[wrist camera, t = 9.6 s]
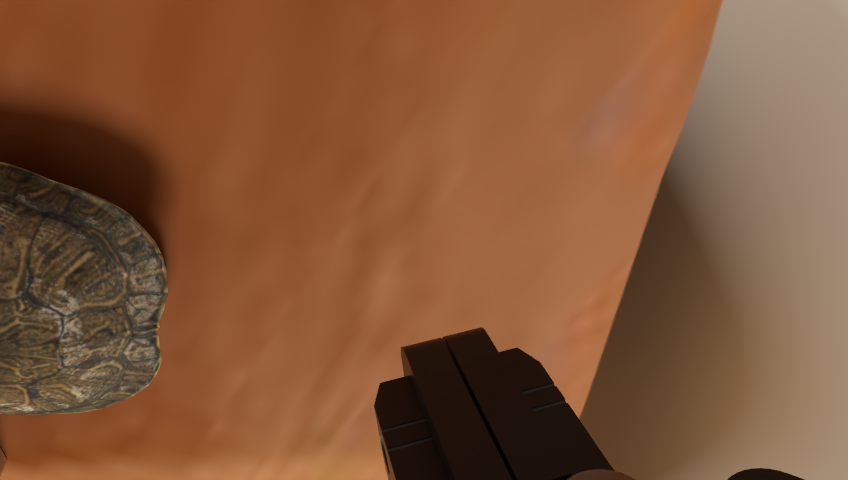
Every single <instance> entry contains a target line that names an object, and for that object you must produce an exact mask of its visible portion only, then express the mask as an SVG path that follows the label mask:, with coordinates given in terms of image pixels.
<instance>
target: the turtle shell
mask: <svg viewBox="0 0 848 480" xmlns="http://www.w3.org/2000/svg"><path fill="white" fill-rule="evenodd" d="M167 295H168V286H167V272H166V266H165V262H164V259H163V257H162V254H161V252H160V250H159V248H158V246H157V244H156V242H155V241H154V240H153V239H152V237H151V236H150V235H149V234H148V233H147V231H146V230H145V229H144V228H143V227H142V226H141V225H140V224H139V223H138V222H137V221H136V220H135V219H134V218H133V217H132V216H131V215H130V214H128V213H127V212H126V211H124V210H123V209H121V208H120V207H118V206H116V205H114V204H112V203H110V202H108V201H106V200H104V199H102V198H100V197H98V196H96V195H93V194H91V193H88V192H86V191H83V190H80V189H78V188H75V187H72V186H69V185H65V184H62V183H59V182H56V181H53V180H50V179H48V178H46V177H44V176H42V175H39V174H37V173H34V172H32V171H29V170H26V169H23V168H21V167H18V166H15V165H11V164H8V163H4V162H0V414H33V415H47V414H65V413H82V412H87V411H92V410H97V409H102V408H106V407H108V406H111V405H113V404H114V403H116V402H118V401H122V400H125V399H129V398H130V397H132V396H133V395H135V394H137V393H138V392H140V391H142V390H143V389H145V388H146V387H147V386H148V385H149V384H150V383H151V382H152V380H153V379H154V377H155V376H156V374H157V372H158V370H159V368H160V365H161V362H162V361H161V355H162V353H161V349H160V346H159V336H158V334H157V333H156V331H157V330H158V329H159V327H160V318H161V315H162V312H163V310H164V308H165V302H166V298H167Z"/></svg>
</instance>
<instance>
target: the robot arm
mask: <svg viewBox="0 0 848 480" xmlns="http://www.w3.org/2000/svg"><path fill="white" fill-rule="evenodd" d="M401 357H402V364H403V370H404V377H402V378H398V379H394V380H390V381H386V382H382V383H380V385H379V389H378V393H377V397H376V401H375V405H374V408H375V413H376V419H377V424H378V430H379V435H380V441H381V446H382V451H383V457H384V462H385V468H386V472H387V475H388V479H389V480H635V479H634V478H632V477H630V476H628V475H625V474H623V473H620V472H616V471H615V470H614V469H613V468H612V467H611V465H610V464H609V463H608V461H607V460H606V458H605V457H604V455H603V454H602V452H601V451H600V450H599V448H598V446H597V445H596V444H595V442H594V441H593V439H592V438H591V436H590V435H589V433H588V432H587V430H586V429H585V427H584V426H583V425H582V423H581V422H580V420H579V419H578V417H577V416H576V414H575V413H574V411H573V410H572V408H571V407H570V405H569V404H568V403H566V402H565V398H564V397H563V395H562V394H561V392H560V391H559V389H558V388H557V386H554V382H553V381H552V379H551V378H550V376H549V375H548V373H547V372H546V370H545V369H544V367H543V366H542V365H541V363H540V362H539V361H537V360H536V359H534V358H533V357H531V356H529V355H528V354H526V353H525V352H523V351H522V350H520V349H519V348H514V349H510V350H506V351H502V352H498V351H497V349H496V347H495V346H494V344H493V342H492V341H491V339H490V338H489V336H488V334H487V333H486V331H485V330H484V329H483V328H477V329H473V330H469V331H465V332H461V333H457V334H453V335H449V336H445V337H443V338H442V339H441V338H437V339H433V340H429V341H425V342H421V343H417V344H413V345H409V346H405V347H401ZM728 480H804V479H801V478H799V477H796V476H793V475H790V474H788V473H784V472H781V471H777V470H772V469H763V468H757V469H749V470H743V471H741V472H738V473H736V474H734V475H733V476H731V477H730V478H729V479H728Z"/></svg>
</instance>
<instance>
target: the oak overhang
mask: <svg viewBox="0 0 848 480" xmlns="http://www.w3.org/2000/svg"><path fill="white" fill-rule="evenodd" d="M6 460H7V459H6V457H5V455H4V454H3V452H2V450H1V448H0V475H1V473H2V470H3V468H4V465H5V463H6Z"/></svg>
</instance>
